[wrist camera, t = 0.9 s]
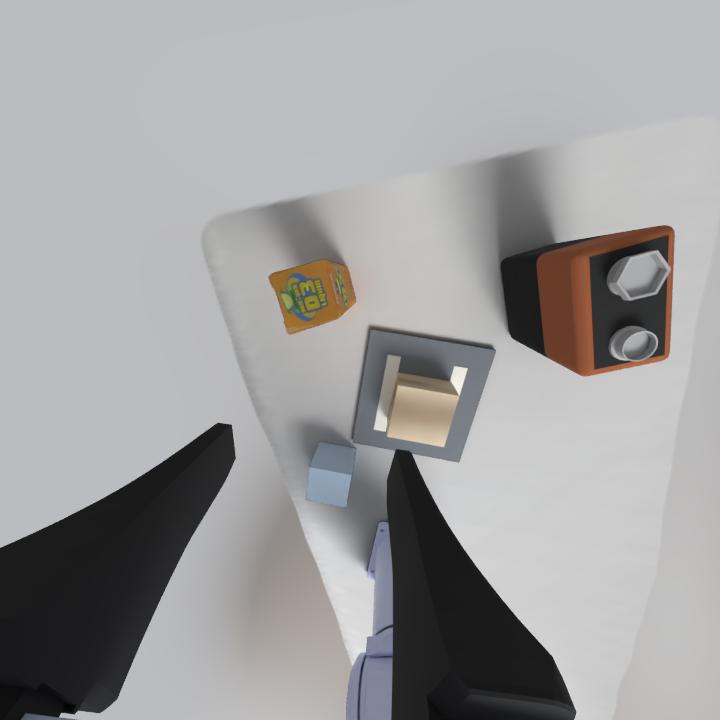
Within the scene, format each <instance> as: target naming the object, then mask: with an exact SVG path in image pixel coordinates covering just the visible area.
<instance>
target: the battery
mask: <svg viewBox="0 0 720 720" xmlns="http://www.w3.org/2000/svg"><path fill="white" fill-rule="evenodd" d="M674 238H675V234H674V230H673V228H672V227H670V226H665V225H663V226H656V227H650V228H644V229H638V230H632V231H626V232H620V233H614V234H609V235H603V236H597V237H591V238H585V239H579V240H573V241H567V242H561V243H556V244H552V245H549V246H545V247H542V248H538V249H535V250H532V251H528V252H525V253H522V254H518V255H515V256H511V257H508V258H506V259H504V260H503V261H502V263H501V269H502V277H503V284H504V292H505V299H506V307H507V314H508V321H509V329H510V335H511V337H512V338H513V339H514V340H516V341H518V342H520V343H521V344H523V345H525V346H527V347H529V348H531V349H533V350H534V351H536V352H538V353H540V354H542V355H544V356H545V357H547V358H549V359H551V360H553V361H555V362H557V363H558V364H560V365H562V366H564V367H566V368H568V369H570V370H571V371H573V372H575V373H577V374H579V375H581V376H591V375H596V374H601V373H606V372H611V371H615V370H620V369H625V368H630V367H635V366H640V365H644V364H649V363H654V362H659V361H662V360H665V359H666V358H667V357H668V356H669V353H670V337H671V313H672V289H673V264H674Z"/></svg>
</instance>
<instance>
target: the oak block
mask: <svg viewBox="0 0 720 720" xmlns="http://www.w3.org/2000/svg"><path fill="white" fill-rule="evenodd" d="M458 399H459V394H458V393H457V391H456V389H455V387H454V386H453V384H452V382H451V381H446V380H440V379H434V378H429V377H423V376H417V375H411V374H405V373H400V372H397V374H396V378H395V383H394V388H393V393H392V398H391V403H390V407H389V412H388V417H387V437H391V438H397V439H402V440H408V441H413V442H418V443H424V444H429V445H434V446H440V447H444V446H445V442H446V439H447V436H448V432H449V429H450V426H451V423H452V419H453V416H454V413H455V409H456V406H457V403H458Z"/></svg>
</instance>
